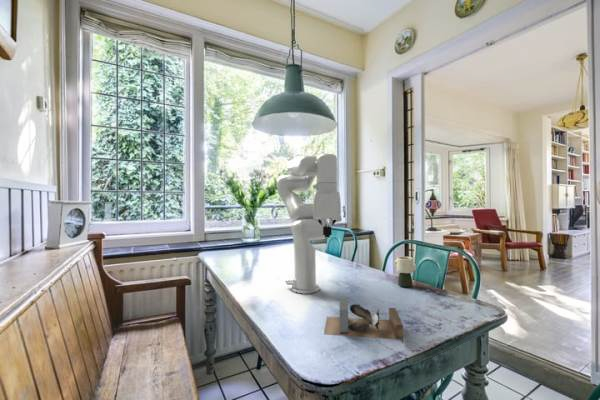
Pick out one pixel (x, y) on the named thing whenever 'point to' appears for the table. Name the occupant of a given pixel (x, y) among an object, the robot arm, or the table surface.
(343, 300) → the bookend
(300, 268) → the robot arm
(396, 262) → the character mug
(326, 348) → the table surface
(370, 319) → the eagle figurine
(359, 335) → the wooden book rack
